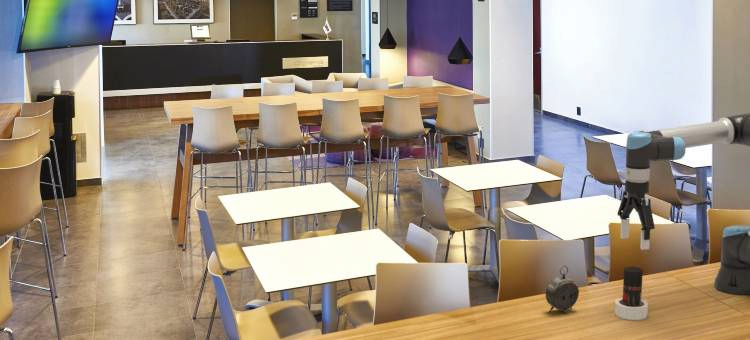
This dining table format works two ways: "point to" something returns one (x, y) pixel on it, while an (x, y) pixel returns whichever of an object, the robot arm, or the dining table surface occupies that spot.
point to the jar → (631, 310)
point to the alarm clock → (562, 292)
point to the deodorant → (632, 287)
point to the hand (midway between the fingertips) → (634, 243)
